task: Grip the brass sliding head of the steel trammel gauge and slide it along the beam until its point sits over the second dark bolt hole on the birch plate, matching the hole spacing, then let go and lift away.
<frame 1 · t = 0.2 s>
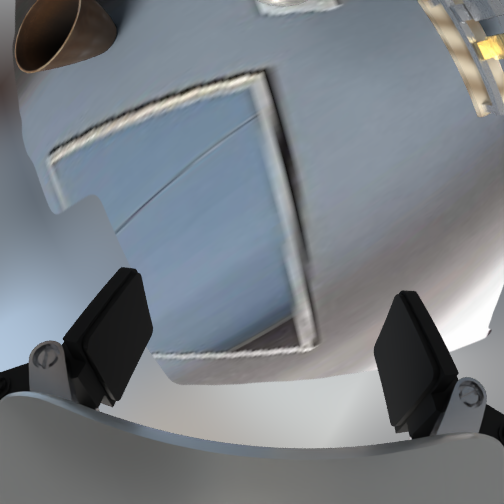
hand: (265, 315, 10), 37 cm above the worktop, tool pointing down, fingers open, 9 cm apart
hole plate: (470, 50, 27), on the worktop
trammel frame: (490, 48, 20), on the hole plate, point 8 cm above the worktop
plant pot: (101, 38, 33), on the worktop
sliding head: (492, 47, 20), point 8 cm above the worktop, slide at 0.0 cm
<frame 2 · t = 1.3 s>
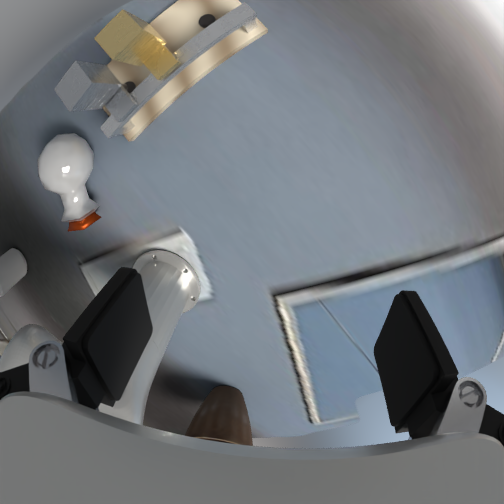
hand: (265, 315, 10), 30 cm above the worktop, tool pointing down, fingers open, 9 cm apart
can: (20, 259, 49), on the worktop
hole plate: (169, 55, 29), on the worktop
trammel frame: (152, 52, 23), on the hole plate, point 8 cm above the worktop
plant pot: (227, 393, 60), on the worktop
potion bottle: (87, 173, 38), on the worktop
sliding head: (150, 51, 23), point 8 cm above the worktop, slide at 0.0 cm
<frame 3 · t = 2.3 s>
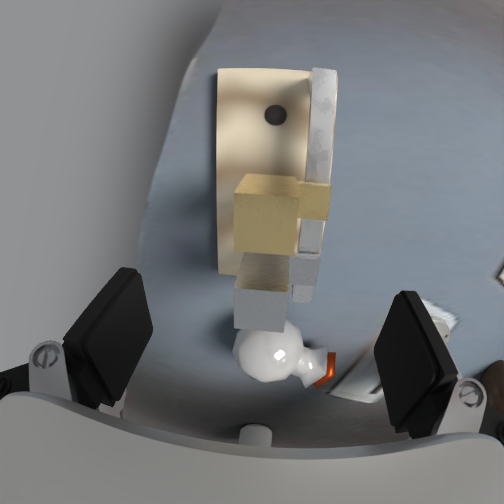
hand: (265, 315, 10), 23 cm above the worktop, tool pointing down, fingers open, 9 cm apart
can: (256, 428, 56), on the worktop
hole plate: (273, 177, 30), on the worktop
trammel frame: (287, 198, 23), on the hole plate, point 8 cm above the worktop
plant pot: (492, 369, 42), on the worktop
potion bottle: (287, 332, 40), on the worktop
sliding head: (287, 200, 23), point 8 cm above the worktop, slide at 0.0 cm
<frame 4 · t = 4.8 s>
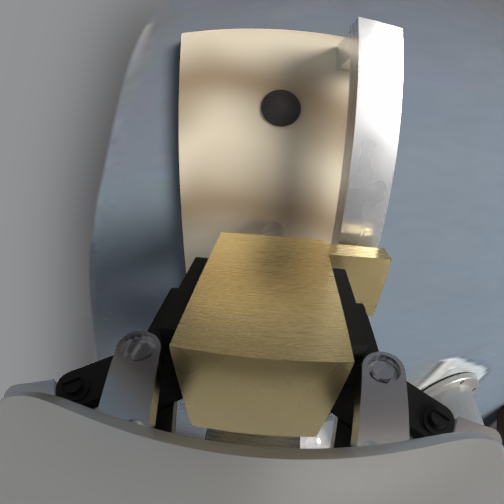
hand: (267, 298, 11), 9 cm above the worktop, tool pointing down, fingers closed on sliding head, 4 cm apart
hole plate: (274, 213, 19), on the worktop
trammel frame: (304, 278, 12), on the hole plate, point 8 cm above the worktop
potion bottle: (288, 399, 29), on the worktop
sliding head: (305, 285, 11), point 8 cm above the worktop, slide at 0.0 cm, touching gripper
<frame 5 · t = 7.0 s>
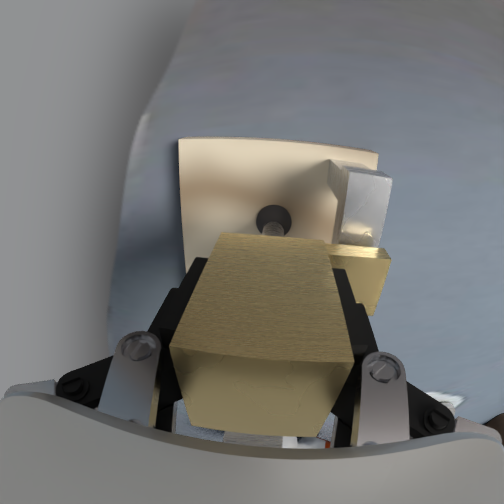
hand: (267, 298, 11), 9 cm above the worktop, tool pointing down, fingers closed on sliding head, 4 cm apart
hole plate: (267, 296, 22), on the worktop
trammel frame: (285, 376, 15), on the hole plate, point 8 cm above the worktop
plant pot: (492, 421, 35), on the worktop
potion bottle: (282, 424, 33), on the worktop
sliding head: (305, 285, 11), point 8 cm above the worktop, slide at 7.0 cm, touching gripper
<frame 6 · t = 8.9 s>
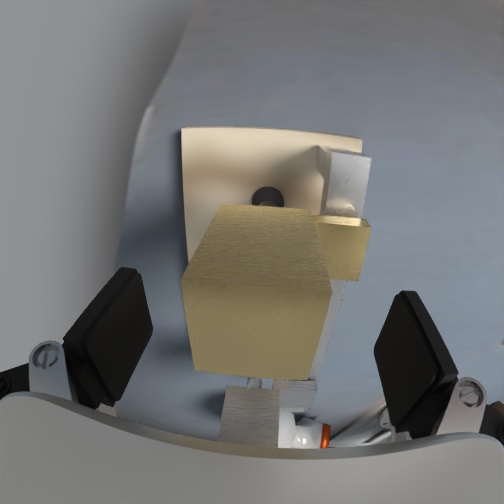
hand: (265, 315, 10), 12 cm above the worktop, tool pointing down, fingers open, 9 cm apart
hole plate: (263, 274, 24), on the worktop
trammel frame: (280, 344, 17), on the hole plate, point 8 cm above the worktop
potion bottle: (280, 406, 35), on the worktop
sliding head: (295, 250, 13), point 8 cm above the worktop, slide at 7.0 cm
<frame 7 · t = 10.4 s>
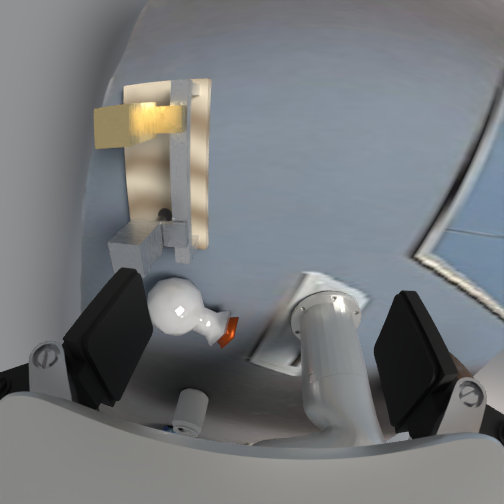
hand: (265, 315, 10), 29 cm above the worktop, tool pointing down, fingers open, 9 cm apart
can: (195, 393, 65), on the worktop
hole plate: (167, 165, 36), on the worktop
trammel frame: (154, 180, 30), on the hole plate, point 8 cm above the worktop
potion bottle: (197, 296, 48), on the worktop
sliding head: (151, 120, 26), point 8 cm above the worktop, slide at 7.0 cm
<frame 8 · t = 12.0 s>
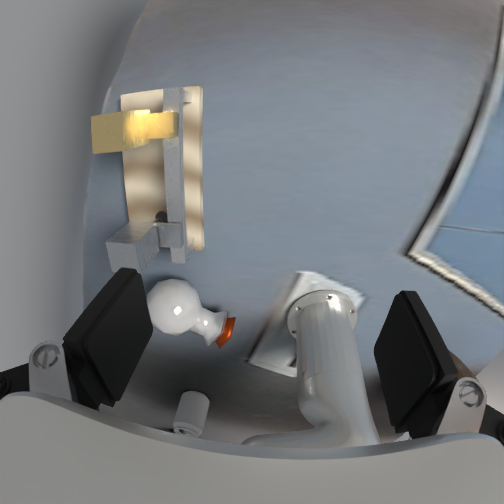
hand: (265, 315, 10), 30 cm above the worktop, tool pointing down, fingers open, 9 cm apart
can: (196, 396, 65), on the worktop
hole plate: (163, 170, 38), on the worktop
trammel frame: (149, 183, 31), on the hole plate, point 8 cm above the worktop
potion bottle: (196, 297, 49), on the worktop
sliding head: (145, 126, 27), point 8 cm above the worktop, slide at 7.0 cm
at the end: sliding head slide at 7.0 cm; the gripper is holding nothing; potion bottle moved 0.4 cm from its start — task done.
